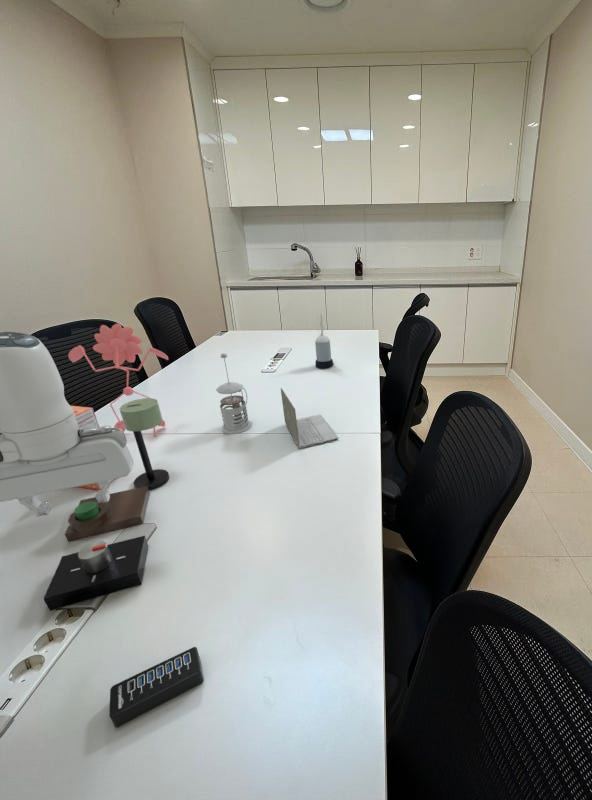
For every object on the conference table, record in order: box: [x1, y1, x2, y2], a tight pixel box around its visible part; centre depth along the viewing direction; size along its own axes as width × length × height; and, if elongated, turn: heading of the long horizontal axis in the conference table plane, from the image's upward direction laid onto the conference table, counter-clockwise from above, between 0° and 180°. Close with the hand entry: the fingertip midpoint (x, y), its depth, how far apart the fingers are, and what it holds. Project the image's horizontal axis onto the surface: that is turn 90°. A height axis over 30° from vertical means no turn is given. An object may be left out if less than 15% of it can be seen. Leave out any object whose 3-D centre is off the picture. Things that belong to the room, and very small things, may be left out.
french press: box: [215, 353, 253, 435], centre depth 123 cm, size 10×12×25 cm
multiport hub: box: [108, 646, 205, 728], centre depth 54 cm, size 4×11×2 cm, turn 120°
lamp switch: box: [73, 501, 99, 521], centre depth 83 cm, size 4×4×2 cm
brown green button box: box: [64, 486, 151, 543], centre depth 87 cm, size 14×12×4 cm
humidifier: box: [314, 311, 335, 370], centre depth 177 cm, size 8×8×25 cm
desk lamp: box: [119, 397, 170, 492], centre depth 96 cm, size 10×8×22 cm
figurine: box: [68, 323, 177, 437], centre depth 120 cm, size 15×26×35 cm, turn 108°
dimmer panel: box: [43, 535, 149, 612], centre depth 72 cm, size 14×10×3 cm
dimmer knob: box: [77, 540, 112, 574], centre depth 70 cm, size 4×4×4 cm
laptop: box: [280, 387, 339, 449], centre depth 120 cm, size 18×12×13 cm
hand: (75, 507), depth 66 cm, fingers open, 7 cm apart
